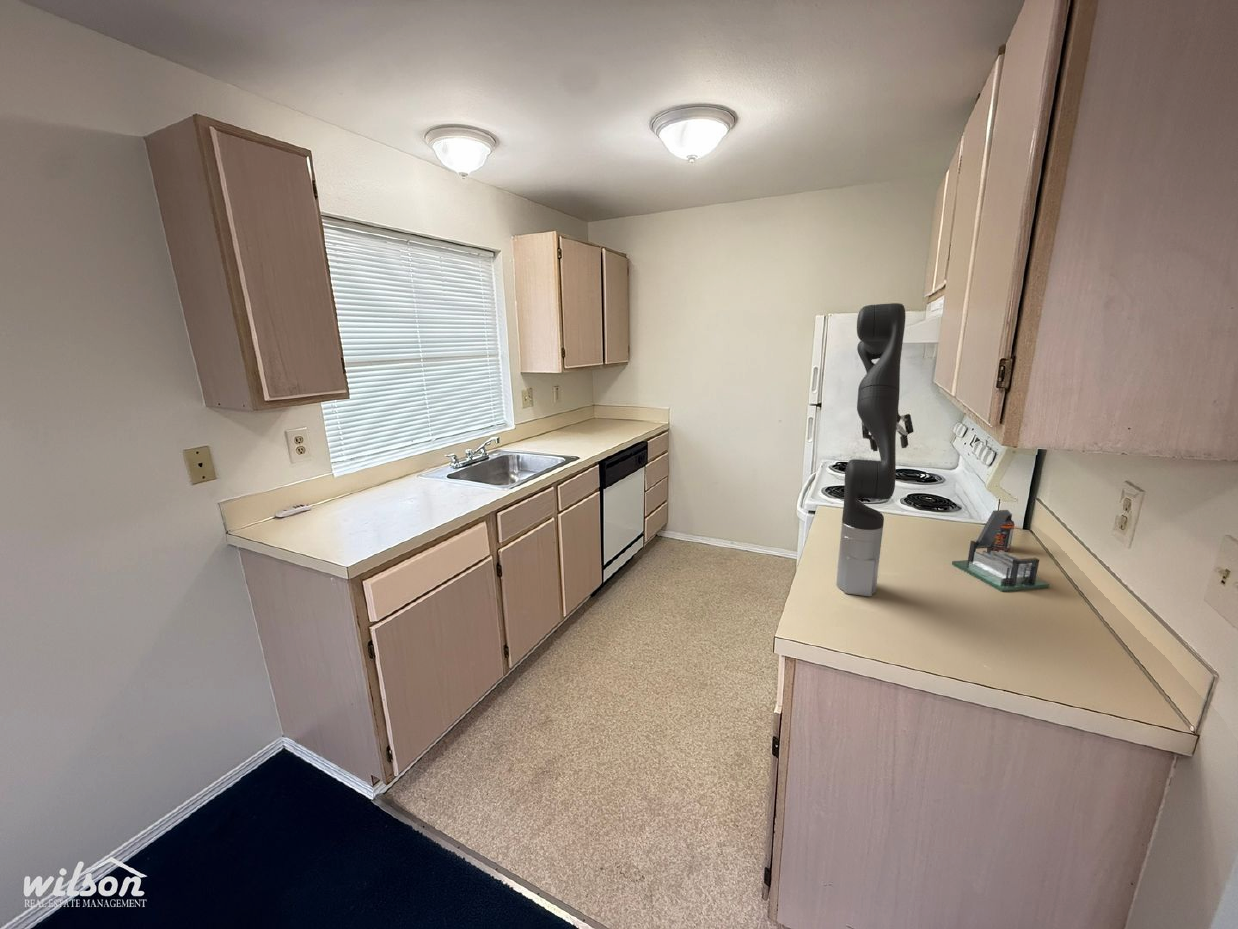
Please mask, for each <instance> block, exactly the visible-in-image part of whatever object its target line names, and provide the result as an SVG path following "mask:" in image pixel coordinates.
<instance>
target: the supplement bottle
mask: <svg viewBox="0 0 1238 929" xmlns="http://www.w3.org/2000/svg"><path fill="white" fill-rule="evenodd" d="M1012 517H1013V513H1011V512H1010V513H1009V515H1008V517H1007V518H1006V520H1005V522H1004V524H1003V525H1002V527H1001V529H1000V530H999V532H998V534H997V536H996V537H995V539H994V541H995V545H994V551H995V552H999V550H1002V551H1004V552H1008V551H1010V550H1011V546H1012V539H1013V534H1014V529H1015V521H1014V520H1013V518H1012Z"/></svg>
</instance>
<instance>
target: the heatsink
mask: <svg viewBox="0 0 1238 929" xmlns="http://www.w3.org/2000/svg"><path fill="white" fill-rule="evenodd" d="M969 544H970V545H969V550H968V551H969V552H968V556H967V559H965V560H963V559H962V560H952V562H951V565H952V566H954V567H956V568H957V569H959V570H961V571H963V570H964V571H963V572H964V573H966V572H967V574H968V573H969V575H970V576H972V577H974V578H976V579H977V578H978V580H979V579H980V581H981V582H983V583H985V584H987V585H988V584H989V587H993V589H996V590H998V591H1000V592H1001V593H1003V592H1014V591H1015V592H1016V591H1026V590H1027V589H1028V590H1036V589H1037V590H1038V589H1039V590H1040V589H1048V588H1049V586H1050V583H1047V582H1045V581H1043V580H1042V579H1039V578H1038V569H1039V566H1040V565H1039V564H1040V559H1038V558H1037V557H1032V558H1031V557H1029V558H1020V557H1017V556H1015V555H1013V554H1011V553H1008V552H1007V551H1002V550H999V551H996V550H994V545H995V541H993V542H992V544H991V547H990V548H986V551H982V553H980V552H978V551H977V549H976V546H977V542H976V540H970V543H969Z"/></svg>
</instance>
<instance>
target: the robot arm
mask: <svg viewBox="0 0 1238 929" xmlns="http://www.w3.org/2000/svg"><path fill="white" fill-rule="evenodd" d="M906 318H907V317H906V308H905V305H903V303H897V302H895V303H894V302H892V303H890V302H889V303H879V304H878V303H877V304H870V305H869V304H868V305H865V306H863V307H862V308H860V310H859V312H858V315H857V319H856V334H857V337H858V339H859V340H860V341H859V342H858V344H857V348H856V350H857V353H858V356H859V358H860V360H861V362H862V364H863V366H864V369H865V371H866V374H865V375H864V377H863V378H862V380H861V381H860V383H859V385H858V391H857V402H856V412H857V414H858V416H859V419H860V420H861V432H862V439H867V440H869V443H870V444H869V445H870V449H871V450H872V452H879V457H880V460H875V459H872V460H871V459H859V458H858V459H857V458H853V459H850V460H849V461H847V464H846V466H845V469H844V470H845V472H844V488H843V490H844V491H843V493H844V494H843V506H842V507H843V508H842V509H843V510H842V515H841V518H842V519H841V530H840V539H839V550H838V558H837V559H838V562H837V569H836V570H837V572H836V584H835V585H836V587H838V588H839V589H840V591H841V590H842V591H843V593H844V594H849V595H856V596H862V597H863V596H864V597H870V598H871V597H872V596H873V594H875V593H877V587H878V586H877V585H878V578H879V576H878V575H879V568H880V567H879V566H880V558H881V557H880V556H881V549H882V540H883V534H884V532H883V530H884V524H885V517H884V514H883V513H882V512H880V511H879V510H877V509H875V508H873V507H870V506H868V505H866V504H864V503H863V502H862V501H860V500H859V498H861V499H862V498H863V499H873V500H874V499H875V500H890V499H891V498H892V497H893V495H894V494H895V493H894V492H895V488H896V475H897V474H896V472H897V471H896V452H897V451H896V446H897V445H896V439H897V438H896V437H897V433H898V434H899V435H900V436H899V439H900V446H901V449H906V448H908V446H909V441H908V435H910V434H912V433H914V426H913V421H912V418H911V414H909V413H906V414H903V415H900V413H899V407H900V406H899V404H900V392H901V391H900V386H901V385H900V383H901V382H900V381H901V372H900V371H901V361H902V360H901V358H902V350H903V342H904V334H905V326H906ZM874 360H877V361H876V363H874V362H873V361H874ZM900 421H902V422H903V423H904V427H903V426H902V425H901V424H900ZM904 428H905V429H904Z"/></svg>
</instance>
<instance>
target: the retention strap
mask: <svg viewBox="0 0 1238 929" xmlns="http://www.w3.org/2000/svg"><path fill="white" fill-rule="evenodd" d="M1009 513H1011V512H1010V511H1009V509H999V510H996V509H995V510H992V512H991V514H990V516H989V518H988V519H987V521H986V523H985V525H984V526H983V529H982V530H981V532H980V534H979V535H978V537H977V539H976V540H975V542H977V546H976V550H977V549H978V550H979V549H987V548H990V547H991V544H992V542H993V541H994V539H995V537H996V536H997V534H998V532H999V530H1000V529H1001V527H1002V525H1003V524H1004V522H1005V520H1006V518H1007V517H1008V515H1009Z"/></svg>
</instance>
